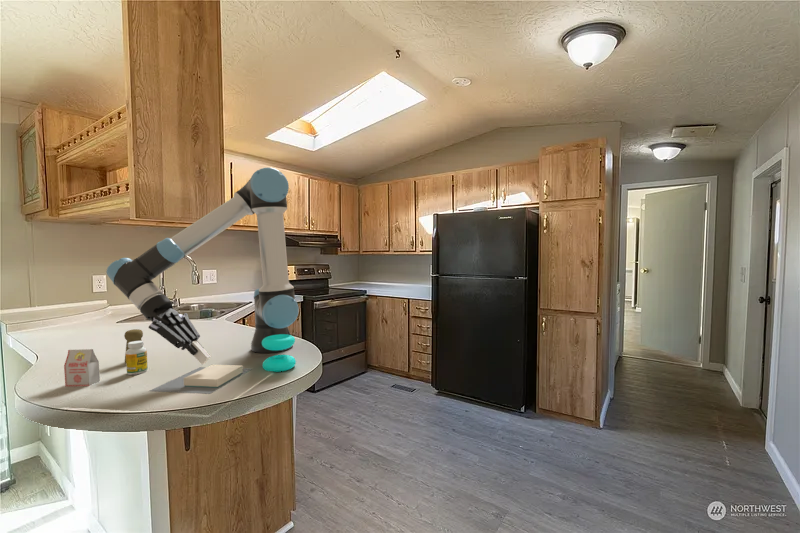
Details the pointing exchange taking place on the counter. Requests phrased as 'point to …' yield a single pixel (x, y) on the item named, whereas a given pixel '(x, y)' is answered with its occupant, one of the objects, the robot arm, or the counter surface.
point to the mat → (179, 386)
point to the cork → (132, 337)
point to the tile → (213, 376)
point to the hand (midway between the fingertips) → (206, 360)
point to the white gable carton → (81, 368)
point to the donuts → (278, 361)
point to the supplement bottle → (136, 358)
